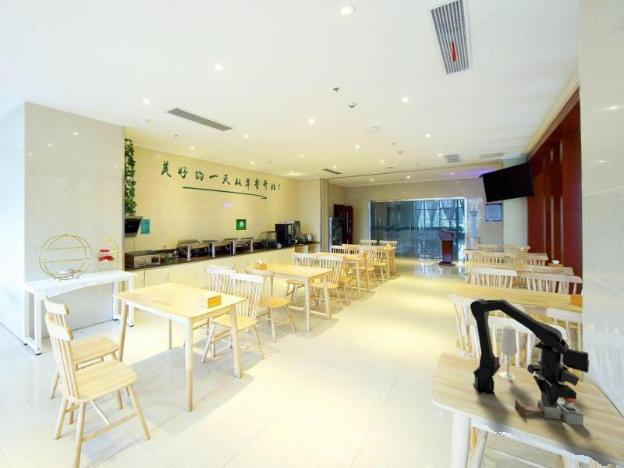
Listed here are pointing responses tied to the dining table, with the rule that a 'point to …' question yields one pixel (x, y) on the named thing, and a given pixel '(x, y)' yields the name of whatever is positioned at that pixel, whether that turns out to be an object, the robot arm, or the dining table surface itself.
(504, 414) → the dining table surface
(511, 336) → the champagne flute
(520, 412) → the rail
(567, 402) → the red plunger button
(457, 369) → the dining table surface
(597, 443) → the dining table surface
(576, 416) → the button housing
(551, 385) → the robot arm
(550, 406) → the carriage
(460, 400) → the dining table surface
